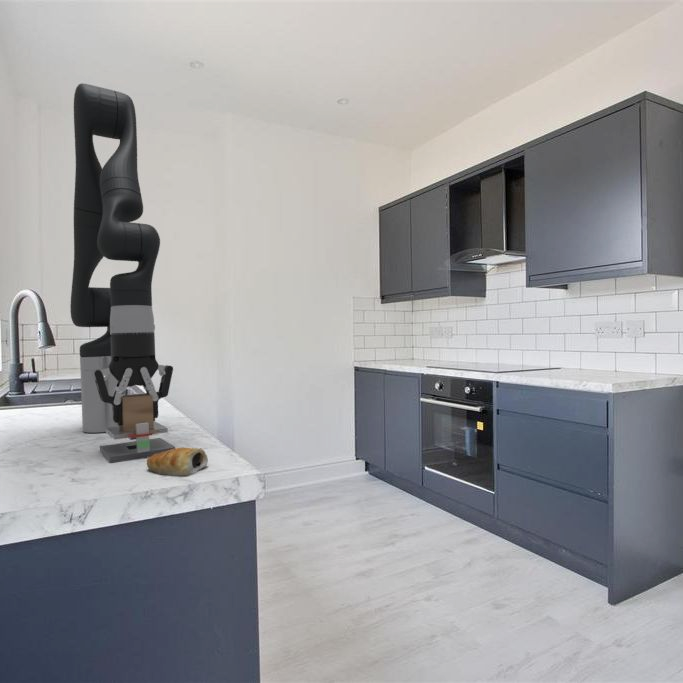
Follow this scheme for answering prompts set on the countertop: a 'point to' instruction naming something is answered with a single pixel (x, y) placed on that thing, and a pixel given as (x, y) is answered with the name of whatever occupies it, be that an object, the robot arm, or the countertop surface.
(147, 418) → the walnut block
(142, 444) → the base
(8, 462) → the countertop surface
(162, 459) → the pastry
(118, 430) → the pan
